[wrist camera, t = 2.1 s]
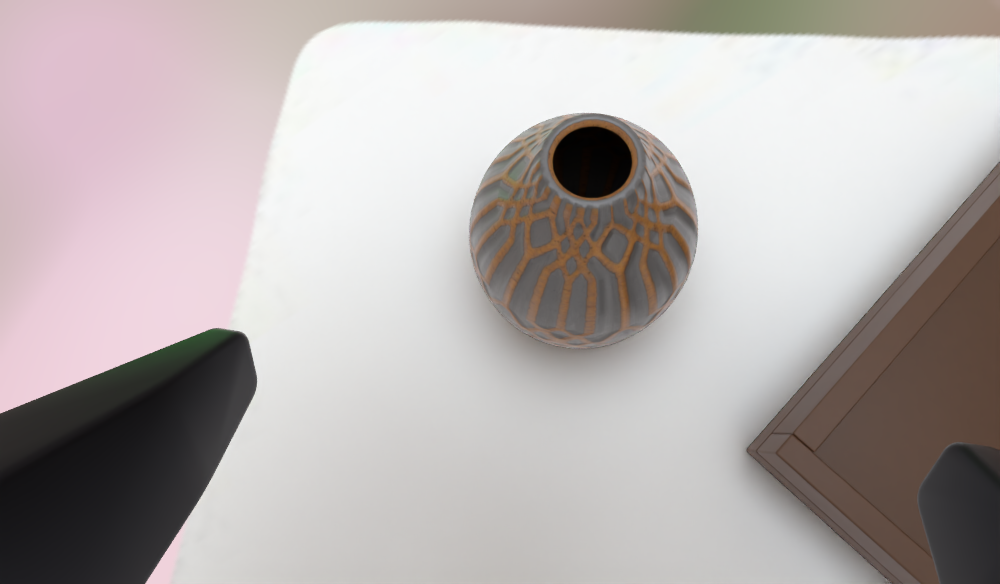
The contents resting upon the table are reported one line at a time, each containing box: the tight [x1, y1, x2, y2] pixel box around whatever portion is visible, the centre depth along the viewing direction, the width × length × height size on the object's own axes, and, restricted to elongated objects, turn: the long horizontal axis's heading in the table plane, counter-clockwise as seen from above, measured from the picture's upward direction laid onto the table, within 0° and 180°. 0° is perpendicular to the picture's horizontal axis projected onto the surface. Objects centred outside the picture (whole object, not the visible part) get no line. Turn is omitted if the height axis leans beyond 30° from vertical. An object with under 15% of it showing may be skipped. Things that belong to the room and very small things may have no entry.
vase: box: [469, 113, 698, 349], centre depth 17 cm, size 7×7×9 cm
